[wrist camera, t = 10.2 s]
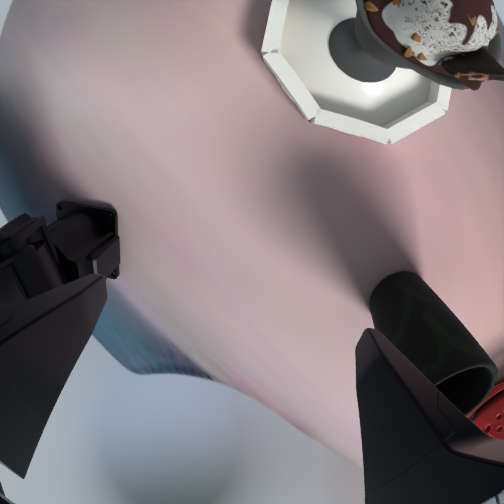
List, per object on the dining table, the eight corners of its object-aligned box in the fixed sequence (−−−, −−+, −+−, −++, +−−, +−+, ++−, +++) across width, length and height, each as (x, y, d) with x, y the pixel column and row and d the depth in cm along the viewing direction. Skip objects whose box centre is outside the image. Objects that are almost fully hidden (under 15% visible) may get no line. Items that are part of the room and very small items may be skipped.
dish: (250, 111, 18) (247, 111, 16) (283, -43, 12) (283, -55, 10) (423, 159, 18) (435, 164, 17) (447, 13, 12) (460, 8, 11)
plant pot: (445, 423, 35) (463, 479, 24) (497, 370, 29) (527, 430, 18) (484, 419, 35) (502, 465, 25) (529, 372, 30) (554, 420, 19)
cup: (341, 313, 25) (368, 431, 14) (394, 244, 22) (466, 350, 11) (398, 339, 26) (434, 439, 15) (448, 282, 23) (512, 375, 12)
